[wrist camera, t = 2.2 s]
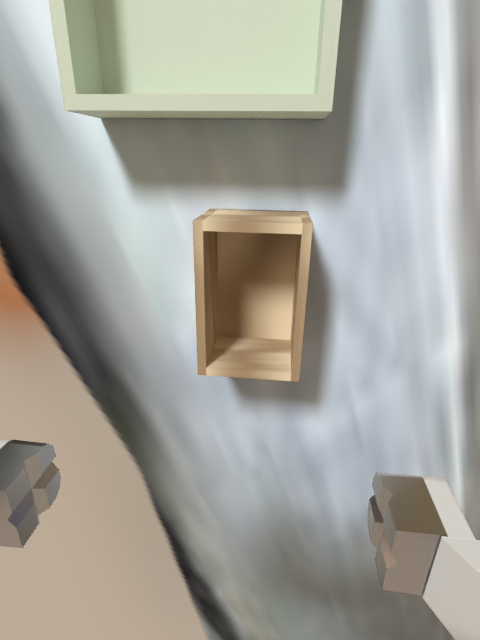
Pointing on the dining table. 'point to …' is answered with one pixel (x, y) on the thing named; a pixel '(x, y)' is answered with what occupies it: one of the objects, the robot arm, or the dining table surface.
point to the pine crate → (251, 292)
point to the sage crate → (197, 58)
